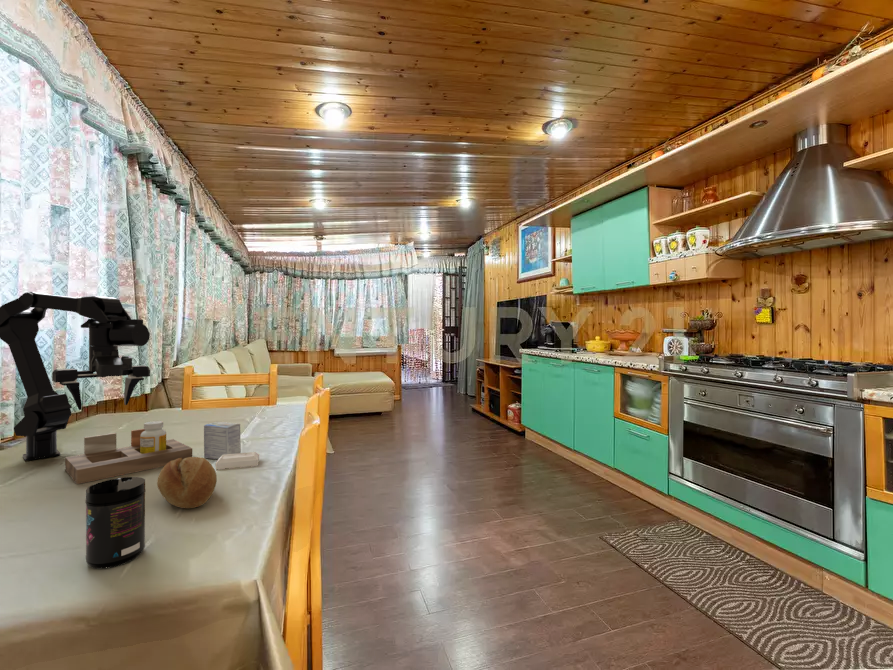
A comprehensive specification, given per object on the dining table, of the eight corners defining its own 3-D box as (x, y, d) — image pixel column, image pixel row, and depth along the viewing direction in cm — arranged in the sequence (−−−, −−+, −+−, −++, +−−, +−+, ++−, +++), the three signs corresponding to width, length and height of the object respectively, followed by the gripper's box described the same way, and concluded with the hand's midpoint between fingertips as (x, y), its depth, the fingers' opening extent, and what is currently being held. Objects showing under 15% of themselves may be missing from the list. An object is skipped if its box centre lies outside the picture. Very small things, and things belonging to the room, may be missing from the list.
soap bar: (257, 467, 101) (257, 456, 101) (215, 471, 98) (215, 460, 98) (259, 461, 106) (259, 451, 106) (219, 465, 103) (219, 454, 103)
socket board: (65, 470, 98) (65, 440, 98) (173, 450, 114) (173, 424, 114) (77, 484, 89) (77, 451, 89) (192, 460, 105) (192, 432, 105)
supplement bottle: (143, 465, 101) (143, 425, 101) (137, 461, 105) (137, 422, 105) (169, 460, 105) (169, 422, 105) (162, 456, 109) (162, 419, 109)
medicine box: (241, 456, 109) (241, 423, 109) (227, 461, 105) (227, 426, 105) (218, 453, 112) (218, 421, 111) (203, 458, 107) (203, 424, 107)
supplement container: (121, 542, 64) (121, 475, 64) (156, 548, 63) (156, 479, 62) (72, 566, 58) (72, 491, 58) (110, 574, 56) (110, 496, 56)
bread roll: (162, 520, 72) (162, 474, 72) (153, 494, 83) (153, 454, 83) (224, 506, 78) (224, 463, 78) (207, 483, 90) (207, 446, 90)
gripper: (59, 347, 95) (59, 416, 95) (156, 345, 109) (156, 406, 109) (51, 346, 102) (51, 410, 102) (143, 345, 116) (143, 401, 116)
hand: (103, 407), depth 107 cm, fingers open, 9 cm apart
